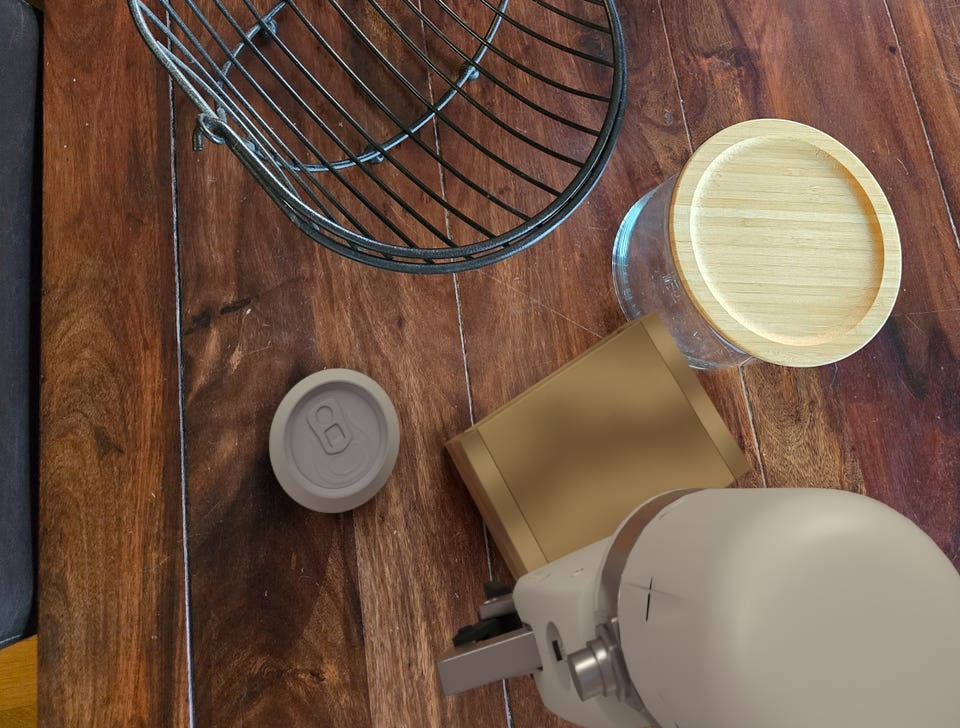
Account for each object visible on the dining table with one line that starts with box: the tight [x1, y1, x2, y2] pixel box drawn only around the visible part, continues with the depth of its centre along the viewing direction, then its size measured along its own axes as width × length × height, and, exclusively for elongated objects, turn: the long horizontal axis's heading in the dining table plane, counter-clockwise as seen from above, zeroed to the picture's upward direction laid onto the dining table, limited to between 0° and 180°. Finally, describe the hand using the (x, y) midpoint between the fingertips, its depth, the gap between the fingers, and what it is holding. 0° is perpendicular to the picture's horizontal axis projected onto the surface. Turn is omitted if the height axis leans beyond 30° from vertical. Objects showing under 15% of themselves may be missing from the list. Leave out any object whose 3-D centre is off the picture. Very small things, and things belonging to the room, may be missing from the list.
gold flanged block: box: [444, 309, 753, 584], centre depth 68 cm, size 10×14×7 cm
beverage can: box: [268, 368, 401, 514], centre depth 65 cm, size 7×7×12 cm
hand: (596, 579), depth 53 cm, fingers open, 9 cm apart
